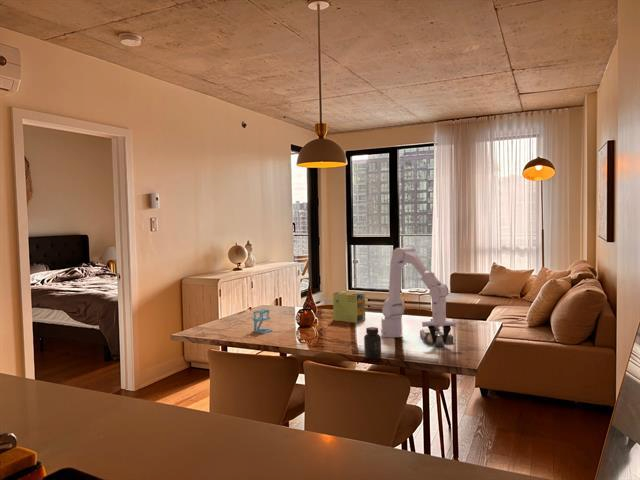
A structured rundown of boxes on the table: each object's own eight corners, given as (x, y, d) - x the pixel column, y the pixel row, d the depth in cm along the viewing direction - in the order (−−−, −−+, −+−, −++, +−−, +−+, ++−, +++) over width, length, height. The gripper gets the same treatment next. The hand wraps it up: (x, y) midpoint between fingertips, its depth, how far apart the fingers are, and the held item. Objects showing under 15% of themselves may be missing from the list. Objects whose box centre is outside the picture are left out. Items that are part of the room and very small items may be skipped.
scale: (425, 344, 219) (425, 333, 219) (420, 336, 234) (419, 326, 234) (454, 344, 218) (454, 333, 218) (447, 336, 233) (447, 325, 233)
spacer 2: (435, 347, 213) (435, 335, 212) (433, 345, 217) (433, 333, 216) (444, 347, 212) (444, 335, 212) (442, 345, 216) (442, 333, 216)
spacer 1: (430, 330, 228) (430, 320, 228) (430, 328, 232) (430, 318, 232) (439, 331, 227) (439, 320, 227) (439, 329, 231) (439, 318, 231)
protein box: (357, 323, 268) (357, 294, 267) (333, 320, 276) (332, 293, 275) (365, 319, 277) (365, 292, 276) (342, 317, 285) (341, 290, 284)
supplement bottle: (379, 355, 203) (379, 326, 202) (382, 359, 196) (382, 329, 195) (363, 355, 202) (363, 326, 202) (365, 360, 196) (365, 330, 195)
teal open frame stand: (260, 329, 255) (259, 306, 255) (272, 331, 251) (272, 307, 251) (250, 332, 249) (249, 309, 248) (263, 334, 244) (262, 310, 244)
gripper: (423, 313, 210) (424, 345, 211) (457, 313, 209) (458, 345, 210) (421, 310, 217) (421, 341, 218) (454, 310, 217) (454, 341, 217)
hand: (439, 342), depth 214 cm, fingers closed on spacer 2, 4 cm apart
